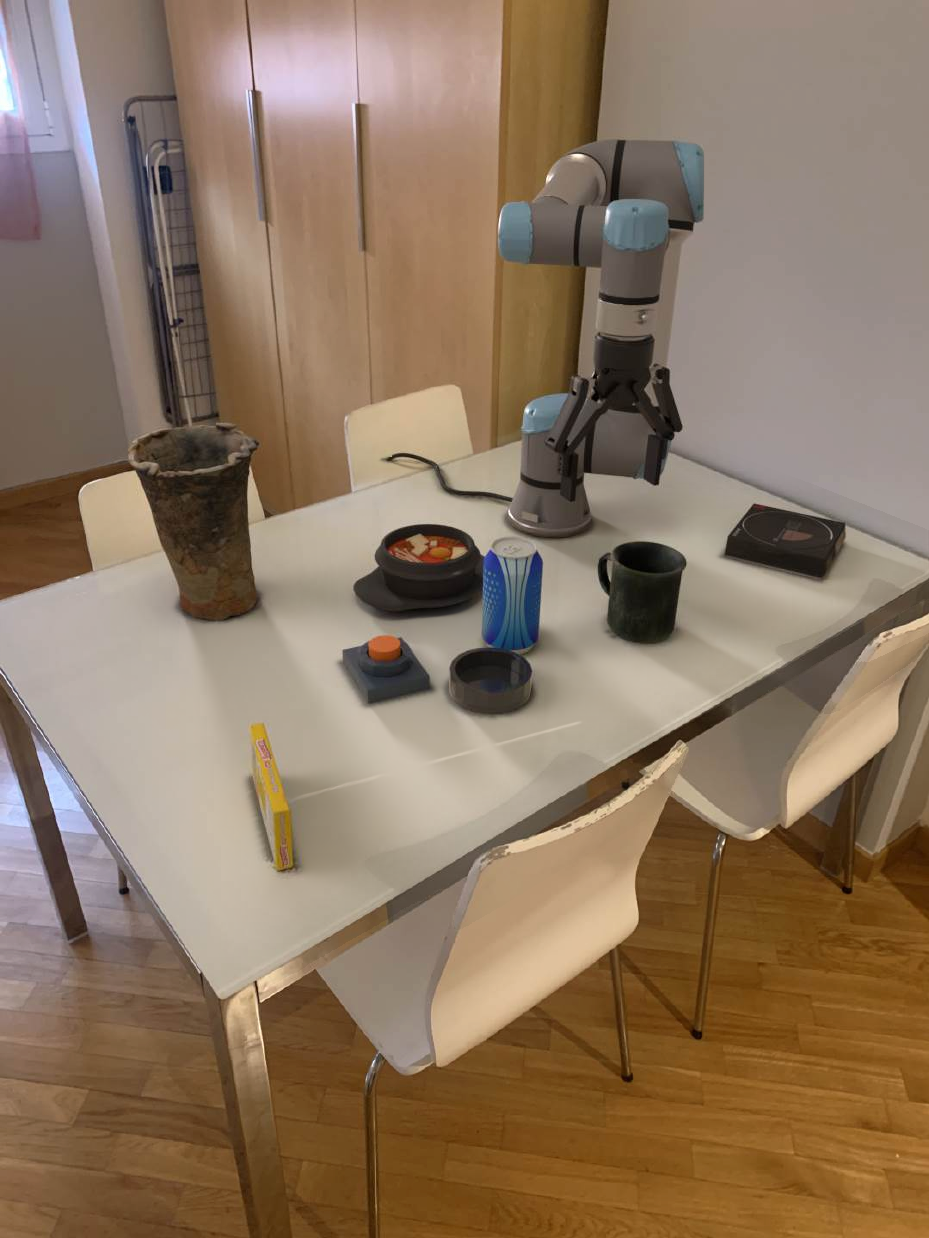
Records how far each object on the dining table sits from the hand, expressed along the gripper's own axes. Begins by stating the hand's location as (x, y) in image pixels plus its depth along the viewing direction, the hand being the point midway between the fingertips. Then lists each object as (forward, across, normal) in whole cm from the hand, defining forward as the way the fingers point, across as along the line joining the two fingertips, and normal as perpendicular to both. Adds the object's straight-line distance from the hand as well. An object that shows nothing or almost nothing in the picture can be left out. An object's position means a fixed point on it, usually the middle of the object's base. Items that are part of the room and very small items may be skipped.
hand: (610, 490), depth 134 cm
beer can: (+24, -12, +5) cm, 28 cm away
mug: (+24, +8, +2) cm, 26 cm away
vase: (+24, -49, +35) cm, 65 cm away
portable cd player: (+24, +47, +12) cm, 54 cm away
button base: (+24, -32, +4) cm, 40 cm away
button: (+21, -32, +4) cm, 38 cm away
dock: (+24, -20, -5) cm, 32 cm away
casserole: (+24, -16, +25) cm, 38 cm away
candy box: (+24, -55, -18) cm, 63 cm away
